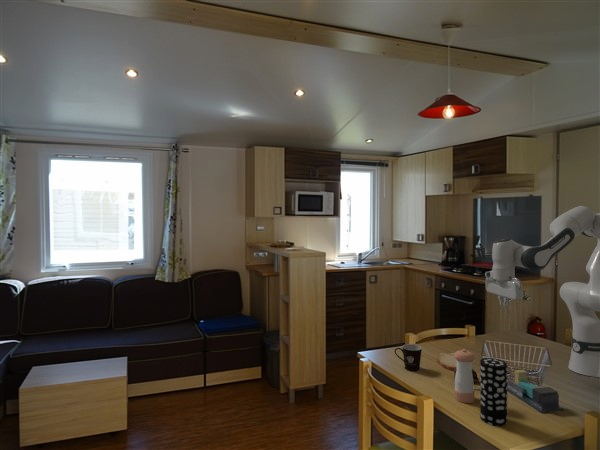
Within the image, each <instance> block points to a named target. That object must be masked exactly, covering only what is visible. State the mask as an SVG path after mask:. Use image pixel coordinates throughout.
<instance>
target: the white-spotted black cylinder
mask: <svg viewBox="0 0 600 450" xmlns="http://www.w3.org/2000/svg"><path fill="white" fill-rule="evenodd" d="M479 362H480V363H479V364H480V365H479V367H480V369H479V371H480V372H479V373H480V378H479V385H480V390H479V391H480V392H479V394H480V395H479V396H480V398H479V400H480V402H479V403H480V405H479V407H480V412H479V414H480V415H479V417H480V420H481V421H482V422H484V423H485V424H487V425H489V426H494V427H495V426H496V427H503V426H506V425H507V424H508V391H507V381H508V363H507V362H506V361H504V360H502V359H499V358H493V357H484V358H481V359H480V360H479Z"/></svg>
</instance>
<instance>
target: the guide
mask: <svg viewBox="0 0 600 450" xmlns="http://www.w3.org/2000/svg"><path fill="white" fill-rule="evenodd" d="M507 393H509V394H511V395H513V396H514V397H515V398H517V399H519V400H520V401H522V402H524V403H525V404H526V405H528V406H530V407H531V408H533V409H534V410H536V411H537V412H539V413H541V414H544V413H545V414H546V413H552V412H563V411H564V409H565V408H564V407H563V406H561V405H560V403H559V399H560V394H558V393H559V392H558V391H557V390H556V389H554V388H552V387H550V386H545V387H539V388H533V389H532V398H531V397H529V396H527V395H526V394H524V387H522V386H520V385H519V384H517V383H515V380H512V379H507Z"/></svg>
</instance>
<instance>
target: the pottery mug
mask: <svg viewBox="0 0 600 450" xmlns="http://www.w3.org/2000/svg"><path fill="white" fill-rule="evenodd" d="M456 370H457V367H456V368H455V370H454V371H453V375H454V376H453V379H454V381H455V376H456ZM472 376H473V381H476V382H477V384H478V385H480V378H479V377H478V374H477V371H476V370H475V369H473V368H472Z"/></svg>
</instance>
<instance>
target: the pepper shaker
mask: <svg viewBox="0 0 600 450" xmlns="http://www.w3.org/2000/svg"><path fill="white" fill-rule="evenodd" d="M454 353H455V352H454ZM454 357H455V359H456V360H457V370H456V376H455V380H454V387H453V398H454V400H455V401H457V402H459V401H460V402H459V403H462V402H463V403H464V404H471V403H474V402H475V390H474V379H473V376H472V369H473V361H474V359H475V355H474V354H473V352H470V351H469V350H467V349H465V348H462V349H460V350H456V353H455V355H454ZM463 403H462V404H463Z"/></svg>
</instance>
